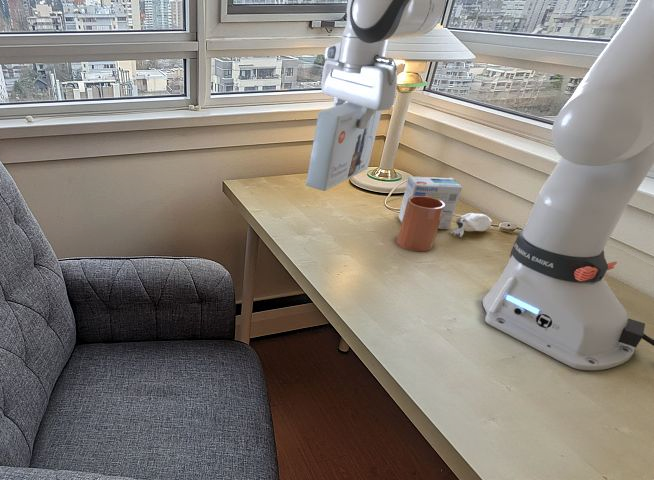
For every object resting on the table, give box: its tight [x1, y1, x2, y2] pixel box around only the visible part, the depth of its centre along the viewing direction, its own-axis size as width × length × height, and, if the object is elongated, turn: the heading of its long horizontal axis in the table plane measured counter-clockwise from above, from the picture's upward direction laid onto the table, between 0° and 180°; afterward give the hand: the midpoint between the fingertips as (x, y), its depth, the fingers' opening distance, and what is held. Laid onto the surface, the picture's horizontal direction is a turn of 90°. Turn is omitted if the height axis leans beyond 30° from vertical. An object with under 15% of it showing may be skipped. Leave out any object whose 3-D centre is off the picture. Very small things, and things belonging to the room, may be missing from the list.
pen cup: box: [396, 196, 445, 252], centre depth 105 cm, size 7×7×10 cm
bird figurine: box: [450, 212, 495, 239], centre depth 111 cm, size 5×7×10 cm
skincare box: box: [305, 102, 383, 192], centre depth 106 cm, size 21×5×16 cm, turn 138°
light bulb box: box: [398, 175, 463, 230], centre depth 114 cm, size 11×7×11 cm, turn 84°
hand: (350, 124), depth 104 cm, fingers closed on skincare box, 6 cm apart
